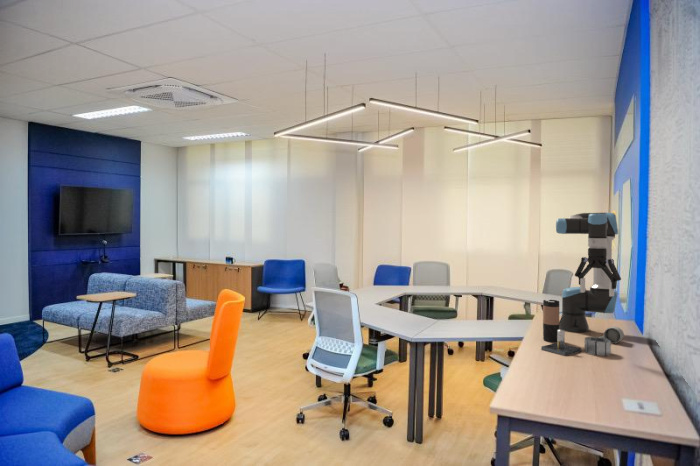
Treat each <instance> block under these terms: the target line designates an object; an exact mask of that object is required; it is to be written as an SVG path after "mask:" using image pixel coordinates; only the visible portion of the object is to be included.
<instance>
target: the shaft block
mask: <svg viewBox="0 0 700 466" xmlns="http://www.w3.org/2000/svg"><path fill="white" fill-rule="evenodd" d="M565 333H566V331H565V330H561V329H559V330H557V342H553V343H549V344H545V345H542V346H540V347H541V348H540V350H541V351H545V352H549V353H553V354H557V355H560V356H565V357H566V356H570V355H573V354H577V352H578V353H581V352H582V349H581V348H580V347H576V346H571V345H569V344H568V345H567V344H565Z"/></svg>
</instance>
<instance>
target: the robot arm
mask: <svg viewBox="0 0 700 466" xmlns="http://www.w3.org/2000/svg"><path fill="white" fill-rule="evenodd" d="M555 229H556V231H555V232H556V233H557V234H562V235H572V234H573V235H577V234H581V235H588V237H587V246H588V249H587V255H588V257H585V256H583V257H581V259H580V260H581V261H580V262H579V263H580V264H579V265H578V267H577V269H576V272H575V273H574V276H575V277H576V278H578V285H579V286H570V287H567V288H566V287H565V288H564V289H563V290H562V296H561V298H562V299H561V302H562V304H561V317H560V318H559V330H565V332H572V333H586V332H589V329H590V327H589V323H588V321H587V317H586V312H587V313H588V312H589V313H597V314H598V313H600V314H613V313H615V310H616V304H617V298H618V292H617V291H615V290H616V289H617V282H618V281H619V282H620V281H622V278H621V276H620V273H619V271H618V270H617V267H616V265H615V260H614V259H613V258H612V257H613V256H612V255H613V253H612V251H613V249H612V248H613V247H612V246H613V244H612V243H613V241H614V239H615V238H616V235H618V234H619V229H618V223H617V216H616V213H614V212H582V213H576V214H573V215H570V216H568V217H567V218H565V217H563V218H557V219H556V222H555ZM587 262H588V264H587ZM586 264H587V265H586ZM585 266H586V267H585ZM592 269H593V273H592V275H593V282H592V284H591V286H590V287H589V290H587V289H586V275H587V274H588V273H589V272H590V270H592Z"/></svg>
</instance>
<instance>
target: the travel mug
mask: <svg viewBox="0 0 700 466" xmlns="http://www.w3.org/2000/svg"><path fill="white" fill-rule="evenodd" d="M542 302H543V303H542V333H543V336H542V338H543V339H542V340H543V341H545V342H548V343H557V330H560V329H559V322H560V301H559V300H556V299H549V300H546V299H543V300H542Z"/></svg>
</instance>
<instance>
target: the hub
mask: <svg viewBox="0 0 700 466" xmlns="http://www.w3.org/2000/svg"><path fill="white" fill-rule="evenodd" d="M611 344H612V343H611V341H610V340H609V339H606V338H601V337H600V336H587V337H584V352H585V354H589V355H592V356H593V355H594V356H597V355H601V357H605V356H606V357H607V355H608V356H611V355H612V353H611V351H612V349H611V348H612V347H611V346H612V345H611Z"/></svg>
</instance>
